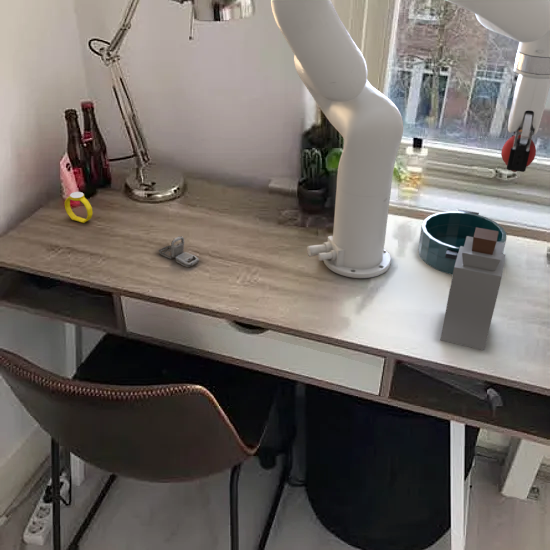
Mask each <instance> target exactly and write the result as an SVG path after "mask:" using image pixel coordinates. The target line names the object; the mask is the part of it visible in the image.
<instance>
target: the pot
mask: <svg viewBox="0 0 550 550" xmlns="http://www.w3.org/2000/svg"><path fill="white" fill-rule="evenodd" d="M476 227H477V228H482V229H488V230H494V231H499V232H498V237H497V242H502V243H504V244H503V250H502V254H504V251H505V246H506V243H507V237H508V234H507V232H506V230H505V229H504V227H502V226H501V225H500V224H499V223H497V221H495V220H493V219H490V218H488V217H487V216H483V215H480V214H479V215H477V214H473V213H467V212H459V211H458V210H456V211H455V210H447V211H440V212H436V213H433V214H431V215H428V216H426V218H424V220H423V221H422V223H421V227H420V234H419V240H418V245H417V246H418V247H417V251H418V252H417V253H418V255H419V257H420V259H421V260H422V261H423V262H424V263H425V264H426V265H427V266H429V267H431V268H432V269H435V270H437V271H439V272H441V273H445V274H448V275H452V276H453V271H454V266H455V263H456V260H455V259H449V258H445V255H446V251H447V249H450V250H455V251H459V249H460V246H463V247H464V244H465V241H466V237H467V236H469V237H474V233H475V229H476Z"/></svg>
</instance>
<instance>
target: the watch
mask: <svg viewBox="0 0 550 550" xmlns="http://www.w3.org/2000/svg"><path fill="white" fill-rule="evenodd" d="M71 201H72V202H73V201H74V202H81V203H82V204H83V206H84V208H85V210H86V215H87V216H86V218H84V217H81V216H77V214H76V213H75V212H73V209H72V206H71ZM64 210H65V212H66V214H67V216H68V217H69V218H70V220H72V221H76V222H79V223H82V224H86V223H87V222H88V221H89V220H91V219H92V217H93V213H94V212H93V207H92V205H91V202H90V201H89V200H88V199H87V198H86V197H85V193H83V192H81V191H73V192H71V193H70V194H69V196H68V197H66V198H65V200H64Z"/></svg>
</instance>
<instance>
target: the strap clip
mask: <svg viewBox="0 0 550 550" xmlns="http://www.w3.org/2000/svg"><path fill="white" fill-rule="evenodd" d="M178 241H180V242H178ZM177 242H178V243H177ZM175 243H176V244H175ZM184 249H185V238H184V236H180V235H179V236H177V237H174V238H173V240H172V241H171V243H170V245H166V246H164V247H162V248H160V249H159V250H158V253H159V254H160V255H161V256H163V257H165V258H168V259H170V260H171V259H172V260H173V259H175V262H176V263H177V264H179V265H181V266H183V267H187V268H190V267H192V266H195V265H196V264H198V263H199V261H200V259H199V257H197V256H196V255H195V254H192V253H190V252H187V251H184Z"/></svg>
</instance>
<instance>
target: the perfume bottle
mask: <svg viewBox="0 0 550 550" xmlns="http://www.w3.org/2000/svg"><path fill="white" fill-rule="evenodd" d="M498 232H499V231H494V230H488V229H482V228H477V227H476V229H475V233H474V237H469V236H467V237H466V241H465V244H464V247H463V246H460V249H459V252H458V256H457V259H456V263H455V266H454V271H453V275H452V278H451V282H450V286H449V292H448V298H447V303H446V308H445V313H444V317H443V323H442V328H441V334H440V339H439V341H443V342H447V343H451V344H454V345H455V344H456V345H459V346H463V347H464V346H465V347H468V348H472V349H476V350H481V351H485V349H486V344H487V340H488V336H489V332H490V327H491V324H492V321H493V315H494V312H495V307H496V303H497V299H498V295H499V291H500V287H501V283H502V279H503V272H504V268H505V267H504V266H505V262H506V254H505V253H503V254H502V250H503V244H504V243H502V242H497V237H498Z"/></svg>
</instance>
